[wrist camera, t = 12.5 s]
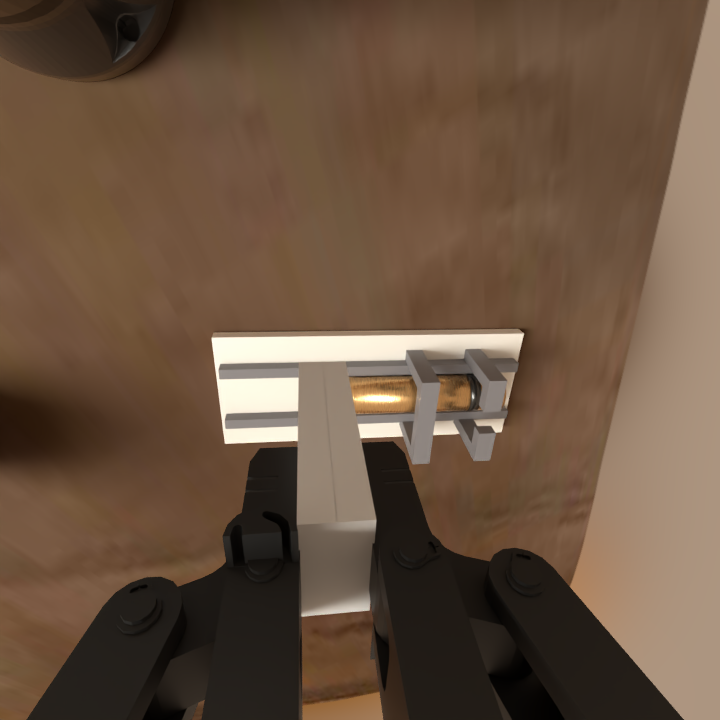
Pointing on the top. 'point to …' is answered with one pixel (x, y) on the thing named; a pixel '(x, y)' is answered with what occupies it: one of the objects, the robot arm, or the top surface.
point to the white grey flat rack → (367, 358)
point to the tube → (414, 393)
